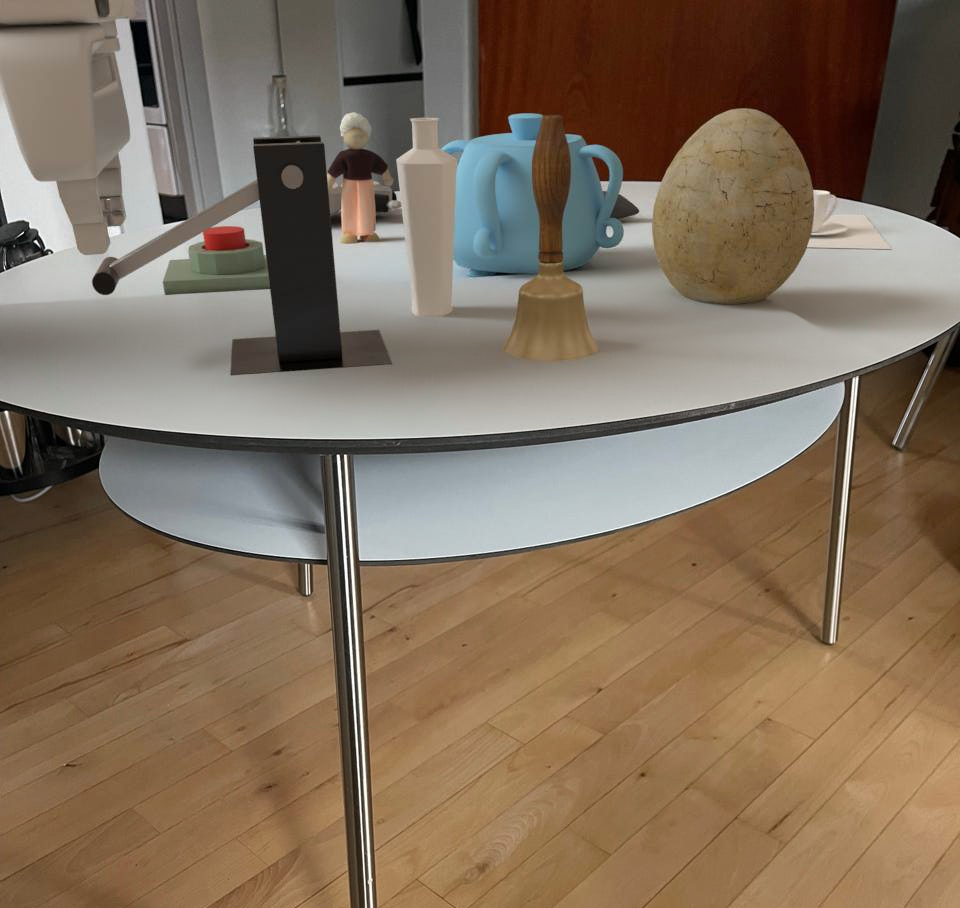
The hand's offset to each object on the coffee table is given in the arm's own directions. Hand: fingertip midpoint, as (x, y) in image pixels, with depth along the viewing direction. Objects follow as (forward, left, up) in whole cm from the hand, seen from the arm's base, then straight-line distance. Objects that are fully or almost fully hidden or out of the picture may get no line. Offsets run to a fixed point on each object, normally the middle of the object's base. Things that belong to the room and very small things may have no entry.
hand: (105, 237), depth 67 cm
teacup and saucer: (+67, +40, -10) cm, 79 cm away
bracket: (+12, 0, -9) cm, 16 cm away
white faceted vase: (+22, +9, -10) cm, 26 cm away
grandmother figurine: (+20, +46, -10) cm, 51 cm away
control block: (+6, +25, -9) cm, 28 cm away
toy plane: (+42, +55, -10) cm, 70 cm away
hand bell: (+29, -3, -10) cm, 31 cm away
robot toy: (+18, +60, -10) cm, 64 cm away
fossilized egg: (+47, +9, -10) cm, 49 cm away
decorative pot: (+34, +27, -10) cm, 45 cm away
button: (+6, +25, -6) cm, 27 cm away
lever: (+7, 0, 0) cm, 7 cm away
